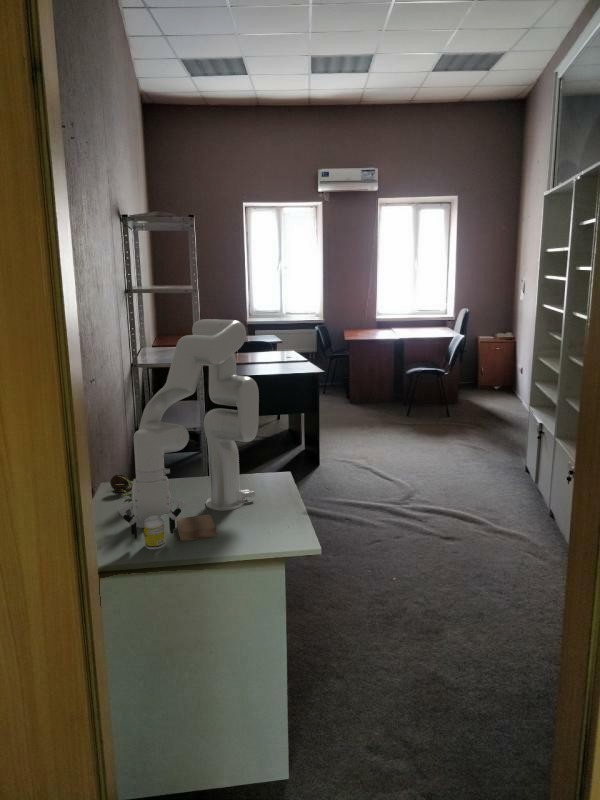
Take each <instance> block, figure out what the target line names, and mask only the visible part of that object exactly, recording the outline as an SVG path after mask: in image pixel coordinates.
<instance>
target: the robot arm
mask: <svg viewBox="0 0 600 800" xmlns="http://www.w3.org/2000/svg"><path fill="white" fill-rule="evenodd" d="M191 328H192V330H191V331H192V334H189V335H184V336H182V337H180V339H178V340H177V343H176V346H175V350H174V354H173V356H172V359H171V360H172V361H171V364H170V366H169V371H168V374H167V377H166V382H165V383H164V385H163V387H162V388H160V389H159V390H158V391H157V392H156V393H155V394H154V395H153V396H152V398H150V400H149V401H148V402H147V404H146V406H145V408H144V409H143V412H142V415H141V418H140V423H139V427H138V430H136V431H135V432H134V434H133V449H134V450H133V451H134V464H135V465H134V466H135V478H133V479H134V480H133V479H132V481H133V482H132V484H133V487H132V489H131V491H132V492H131V494H132V498H131V499H132V501H131V502H129V503H128V502H126V504H124V505H122V506H121V507H119V509H118V513H119V514H120V515H121V517H122V518H123V519H124V520H125V521H126V522H128V523H129V525H130V532H131V536H132V535H133V537H134V539H137V538H138V531H137V530H138V529H137V527H136V521H137V519H138V518H139V517H149V516H156V515H157V516H158V515H161V516H165V515H167V517H168V524H169V533H170V534H171V535H173V534H174V530H176V520H177V517H178V516H179V515H180V514H181V513H182V510H183V508H184V506H185V501H184V500H182V499H178V498H176V497H173V496H171V489H170V483H169V479H168V476H167V475H169V474H171V469H170V468H166V467H165V456H164V455H165V454H168V453H173V452H174V453H176V452H178V451H181V450H183V449H184V448H185V447H186V446H187V445H188V442H189V440H190V434H189V431H188V429H187V428H186V427H185V426H184V425H181V424H178V423H177V424H176V423H169V422H163V421H162V418H163V416H164V414H165V413H166V411H167V409H169V407H171V406H172V405H173V404H175V403H177V402H179V401H181V400H183V399H185V398H189V397H190V396H192V395H194V393H196V390H197V386H198V383H199V378H200V375H201V371H202V368H203V366H208V395H209V398H210V400H211V402H212V403H214V404H217V405H221V406H228V407H237V409H231V408H230V409H229V408H213V409H210V410H209V411H208V412H207V413H206V414H205V416H204V419H203V429H204V433H205V437H206V441H207V450H208V451H207V452H208V453H207V454H208V469H209V470H208V471H209V472H208V473H209V475H208V476H209V493H210V494H209V495H210V497H209V498H207V500H205V506H206V507H207V508H208V509H209V510H212V511H219V512H222V511H223V512H225V511H231V510H236V509H239V508H241V507H243V506H244V505H245V504H246V503H245V502H246V500H245V499H246V498H253V497H255V491H254V490H249V489H243V490H242V489H241V487H240V463H239V462H240V461H239V460H240V457H239V456H240V455H239V449H238V446H237V443H236V442H242V443H248V442H249V443H250V442H251V441H253V440H254V439H256V436H257V434H258V431H259V430H258V429H259V419H260V418H259V417H260V416H259V415H260V414H259V412H260V411H259V409H260V408H259V403H260V399H259V398H260V395H259V394H260V393H259V392H260V391H259V386H258V383H257V382H256V381H255V379H253V378H252V377H250V376H246V375H245V376H244V375H238V374H237V358H236V355H235V353H236V352H238V350H240V349H241V348H242V346H243V345H244V343H245V341H246V338H247V329H246V327H245V325H244V324H243V323H242V322H241V321H239V320H237V319H236V320H235V319H216V318H215V319H214V318H212V319H210V318H205V319H204V318H203V319H199V320H197V321H195V322H194V323H193V325H192V327H191ZM172 504H174V505H177V507H176V508H175V509H174V511H173V510H172ZM132 507H133V515H132V514H131V515H130V514H128V513H127V511H128V510H130V508H132Z"/></svg>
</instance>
